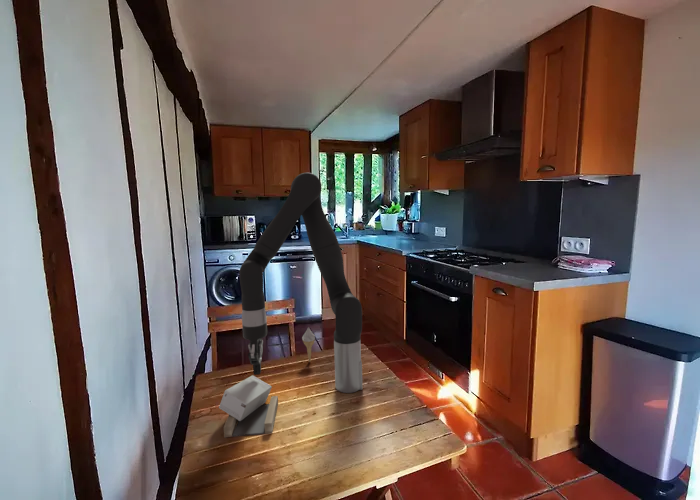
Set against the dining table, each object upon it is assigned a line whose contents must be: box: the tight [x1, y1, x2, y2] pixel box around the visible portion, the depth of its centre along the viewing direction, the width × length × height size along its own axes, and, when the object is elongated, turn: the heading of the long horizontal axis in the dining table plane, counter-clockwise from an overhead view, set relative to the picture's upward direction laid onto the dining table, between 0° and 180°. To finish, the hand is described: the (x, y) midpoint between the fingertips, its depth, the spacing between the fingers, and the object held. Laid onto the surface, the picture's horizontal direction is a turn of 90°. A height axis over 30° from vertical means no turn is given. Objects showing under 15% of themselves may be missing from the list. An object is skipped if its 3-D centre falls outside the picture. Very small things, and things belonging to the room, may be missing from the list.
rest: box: [223, 395, 279, 438], centre depth 98 cm, size 13×14×3 cm
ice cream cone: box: [301, 326, 316, 363], centre depth 136 cm, size 6×6×15 cm
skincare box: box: [218, 374, 273, 421], centre depth 102 cm, size 8×6×15 cm
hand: (257, 373), depth 107 cm, fingers closed
